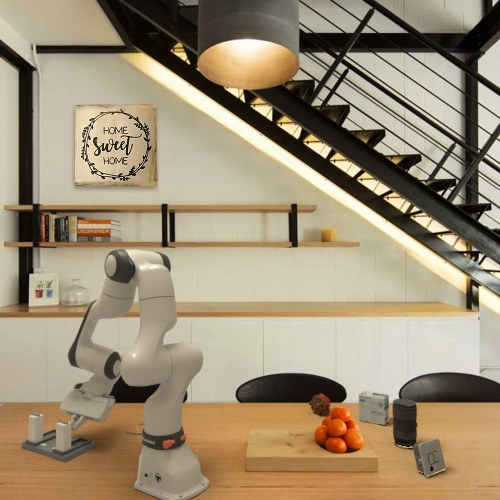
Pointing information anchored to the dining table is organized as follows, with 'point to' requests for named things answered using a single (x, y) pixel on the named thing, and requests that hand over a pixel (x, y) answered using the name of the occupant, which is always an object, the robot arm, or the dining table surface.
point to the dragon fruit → (320, 404)
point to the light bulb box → (374, 407)
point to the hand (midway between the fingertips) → (72, 429)
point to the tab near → (63, 436)
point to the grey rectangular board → (49, 446)
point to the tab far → (35, 428)
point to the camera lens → (404, 422)
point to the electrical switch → (429, 456)
